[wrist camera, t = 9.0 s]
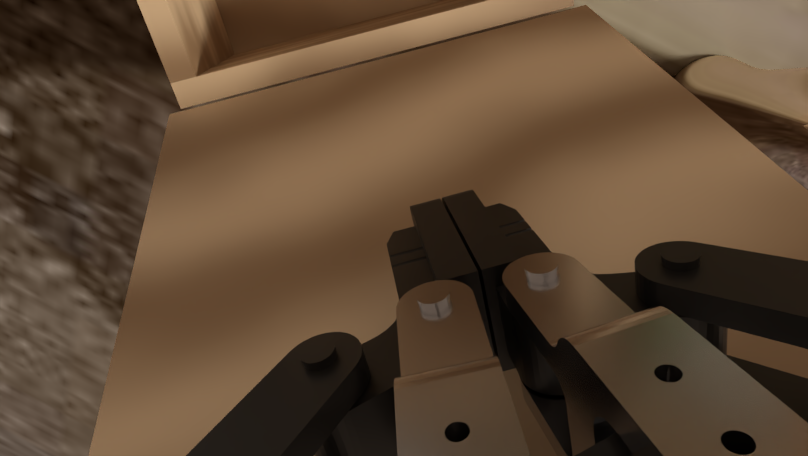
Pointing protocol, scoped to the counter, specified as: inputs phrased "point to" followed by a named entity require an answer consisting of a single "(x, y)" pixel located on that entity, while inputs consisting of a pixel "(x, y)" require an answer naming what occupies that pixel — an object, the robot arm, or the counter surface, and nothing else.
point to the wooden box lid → (409, 185)
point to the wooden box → (303, 36)
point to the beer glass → (757, 106)
